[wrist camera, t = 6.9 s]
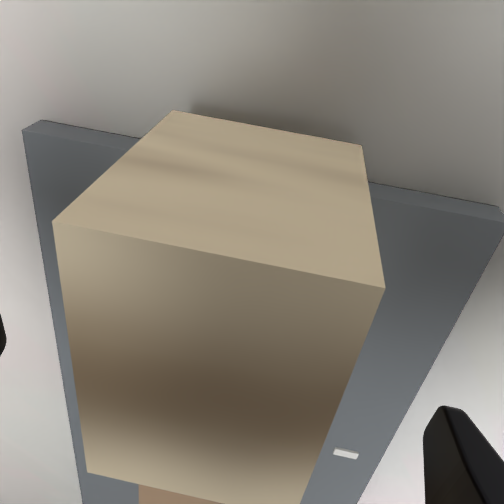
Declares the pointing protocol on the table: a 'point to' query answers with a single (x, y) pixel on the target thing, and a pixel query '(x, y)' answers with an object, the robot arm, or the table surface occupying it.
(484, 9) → the table surface
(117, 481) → the board
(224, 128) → the stub
